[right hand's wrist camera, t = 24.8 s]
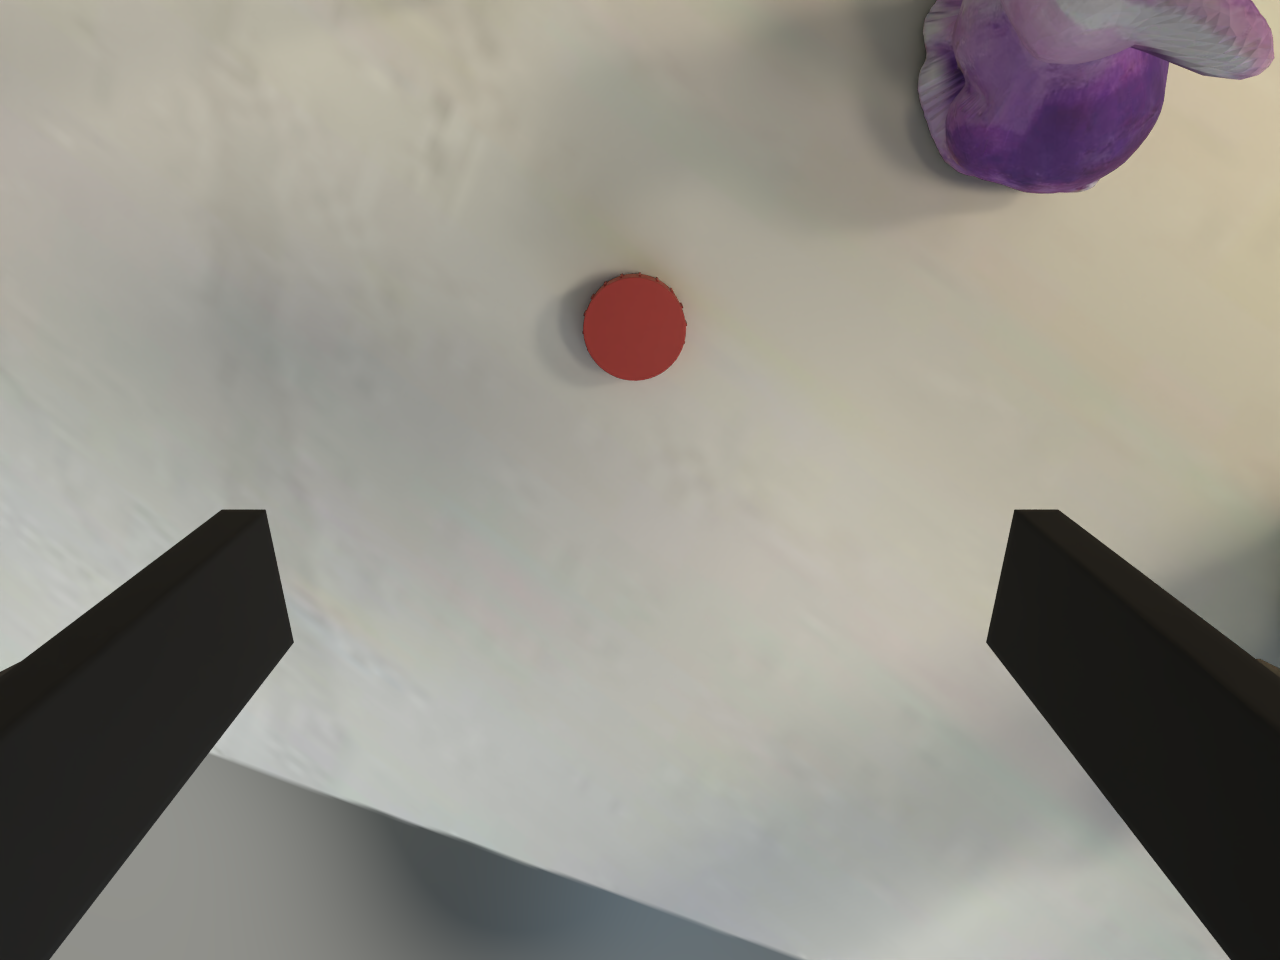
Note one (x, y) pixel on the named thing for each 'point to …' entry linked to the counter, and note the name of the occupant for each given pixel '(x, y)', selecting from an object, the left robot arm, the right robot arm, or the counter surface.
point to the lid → (634, 327)
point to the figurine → (1069, 79)
